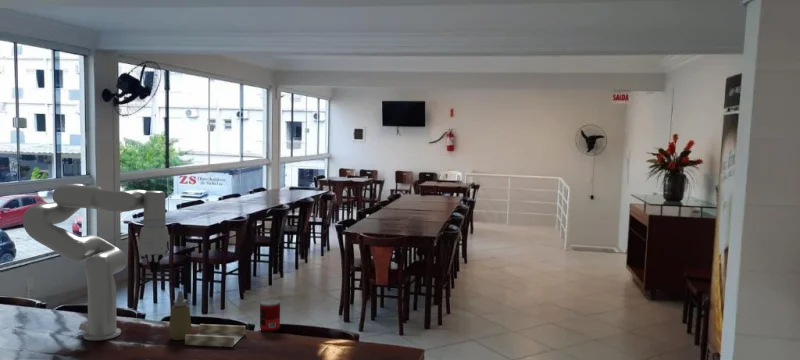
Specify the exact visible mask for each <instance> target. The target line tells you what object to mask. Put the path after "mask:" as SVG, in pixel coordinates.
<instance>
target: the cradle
mask: <svg viewBox="0 0 800 360" xmlns="http://www.w3.org/2000/svg"><path fill="white" fill-rule="evenodd" d="M198 327H199V330H198V331H199V332H198V333H196V334H191V333H190V334H186V335H185V339H184V345H185V346H206V347H223V346H224V347H225V348H226V347H229V348H234V347H235V346H236V345H237V344H238V343H239V342H240V341H241V340H242V339H243V338H244V337H245V336H246V335H245V334H247V327H246V325H237V324H236V325H233V324H232V325H231V324H208V323H207V324H206V323H200V324H199V326H198ZM244 335H245V336H244ZM243 336H244V337H243ZM242 337H243V338H242ZM241 338H242V339H241ZM240 339H241V340H240ZM239 340H240V341H239ZM238 341H239V342H238ZM237 342H238V343H237ZM236 343H237V344H236ZM235 344H236V345H235ZM234 345H235V346H234ZM233 346H234V347H233Z"/></svg>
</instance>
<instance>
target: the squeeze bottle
mask: <svg viewBox="0 0 800 360" xmlns="http://www.w3.org/2000/svg"><path fill="white" fill-rule="evenodd" d="M177 293H178V294H177V298H176V299H175V300H173V305H172V306H171V308H170V315H169V316H170V317H169V323H168V331H169V334H170V337H171V339H172V340H174V341H181V340H185V335H186V334H191V330H192V320H191V310H190V305H188V300H187V299H185V298H184V294H183V291H182V290H179V291H178V292H177Z"/></svg>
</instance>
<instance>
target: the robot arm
mask: <svg viewBox="0 0 800 360" xmlns="http://www.w3.org/2000/svg"><path fill="white" fill-rule="evenodd" d="M52 200H53V202H46V203H39V204H35V205H33V206H30V207H28V208H27V209H26V210H25V211H24V213H23V215H22V225H23V228H24V231H26V233H27V234H28V236H29V237H30V238H32V239H33V240H34V241H36V242H37V243H38V244H40V245H43V246H44V247H46V248H49V249H50V250H52V251H53V252H55V253H56V254H58V255H59V256H61V257H63V258H64V259H66V260H68V261H69V262H72V263H74V264H80V263H84V262H86V263H85V266H84V274H85V278H86V283H87V323H80V324H79V327H78V330H80V331H85V332H83V335H82V336H83V339H84V340H87V341H93V342H94V341H104V340H105V341H106V340H110V339H113V338H117V337H118V336H120V335H121V333H122V330H121V328H119V327H117V284H116V280H115V278H114V275H115V274H118V273H119V272H121V271H122V272H123V270H124V269H125V268H126V267H127V265H128V257H127V255H126V253H125V252H124V250H122V249H120V248H119V247H117V246H115V245H113V244H111V242H109V241H107V240H106V239H104V238H102V237H100V236H98V235H94V234H88V235H83V236H78V235H75V234H73V233H72V232H70V231H68V230H66V229H65V228H62V227H60V226H58V225H57V224H61V223H63V222H65V221H68V219H69V218H71V217H72V216H73V215H74V214H76V212H78V211H79V210H80V209H91V210H92V209H94V210H99V211H107V212H121V213H122V212H132V211H136V210H137V211H138V210H142V209H143V219H141V220H140V222H139V223H140V224H141V225H143V227H141V228H140V233H139V236H138V237H139V238H138V239H139V240H138V253H140V257H144V258H146V259H147V260H148V262H149V270H150V273H151V274H152V273H158V272H159V271H160V270H161V269H160V267H161V264H160V262H161V261H162V259H164V258H168V257H169V256H170V248H171V247H170V245H171V244H170V236H169V230H168V227H167V226H166V223H167V222H166V193H165V191H162V190H146V189H145V190H144V189H131V190H130V189H129V190H124V191H123V190H109V189H108V190H107V189H103V188H102V187H101V186H98V185H85V184H82V183H68V184H61V185H58V186H57V187H56V188H55V189H54V190H53V192H52Z"/></svg>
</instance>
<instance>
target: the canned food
mask: <svg viewBox="0 0 800 360" xmlns="http://www.w3.org/2000/svg"><path fill="white" fill-rule="evenodd" d="M280 327H281V300H279V299H270V298H268V299H264V300H261V301H260V303H259V329H260V331H262V332H267V333H268V332H269V333H270V332H275V331H278V330H279V329H280Z"/></svg>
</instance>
